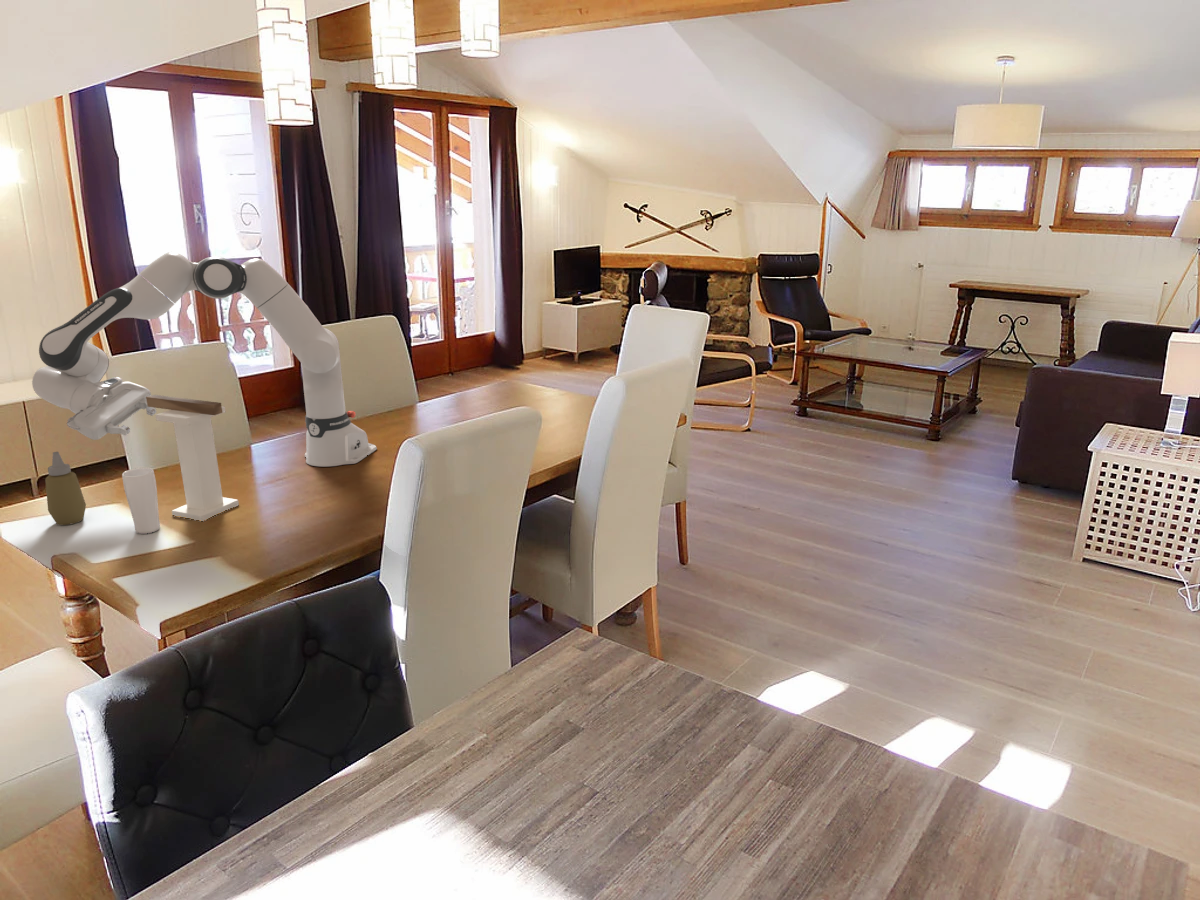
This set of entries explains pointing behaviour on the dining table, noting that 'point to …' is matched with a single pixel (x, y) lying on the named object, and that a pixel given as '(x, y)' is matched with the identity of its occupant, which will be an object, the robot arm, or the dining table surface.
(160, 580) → the dining table surface
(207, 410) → the walnut bar
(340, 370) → the robot arm
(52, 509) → the squeeze bottle
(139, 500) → the drinking glass
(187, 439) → the shelf stand
